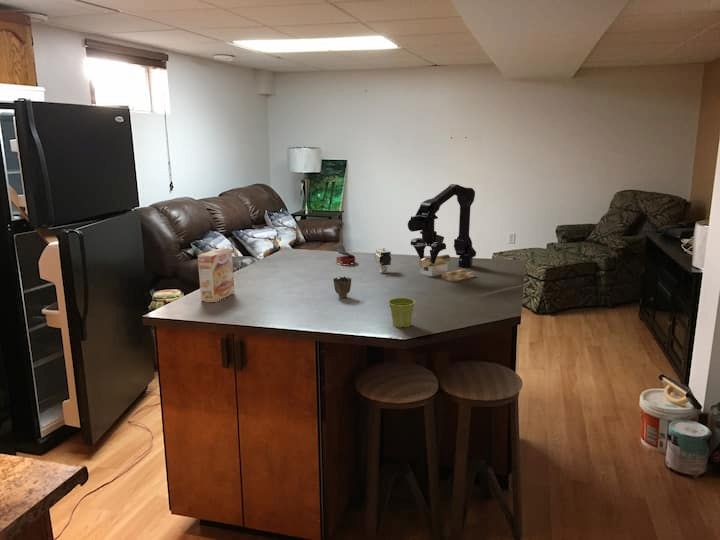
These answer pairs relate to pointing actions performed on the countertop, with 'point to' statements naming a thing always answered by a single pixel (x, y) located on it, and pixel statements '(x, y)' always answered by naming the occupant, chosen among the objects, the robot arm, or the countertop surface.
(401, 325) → the plant pot
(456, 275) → the beam
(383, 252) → the pneumatic valve
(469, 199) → the robot arm
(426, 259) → the axle
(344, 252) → the canned food
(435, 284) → the countertop surface
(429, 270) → the cradle
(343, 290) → the cup
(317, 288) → the countertop surface
